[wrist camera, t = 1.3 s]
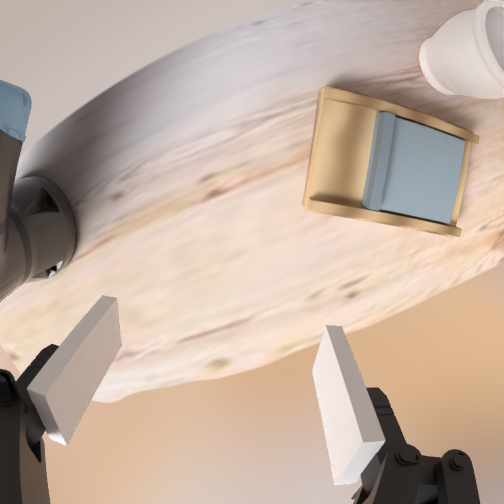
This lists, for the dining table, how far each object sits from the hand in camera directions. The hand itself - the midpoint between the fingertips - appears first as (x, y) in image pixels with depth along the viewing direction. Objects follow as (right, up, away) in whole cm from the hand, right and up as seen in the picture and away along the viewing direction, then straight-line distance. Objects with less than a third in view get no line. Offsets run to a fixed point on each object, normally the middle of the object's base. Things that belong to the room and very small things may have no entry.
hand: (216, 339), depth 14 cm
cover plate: (+20, +13, +18) cm, 30 cm away
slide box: (+18, +15, +22) cm, 32 cm away
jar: (+27, +29, +17) cm, 43 cm away
